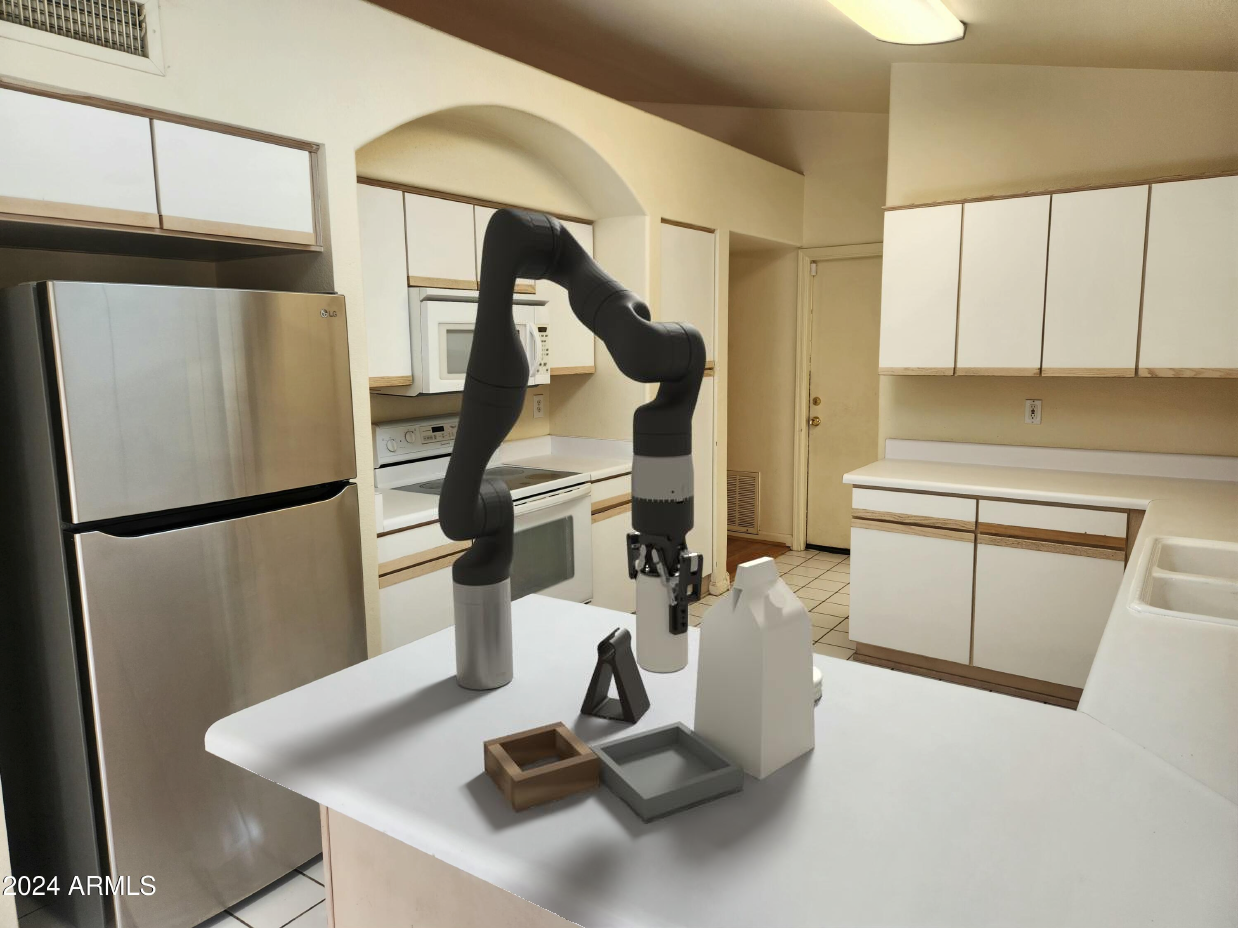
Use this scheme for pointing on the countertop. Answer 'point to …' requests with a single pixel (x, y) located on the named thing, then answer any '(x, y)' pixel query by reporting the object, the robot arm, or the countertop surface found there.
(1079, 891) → the countertop surface
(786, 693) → the milk
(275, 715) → the countertop surface
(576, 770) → the socket block
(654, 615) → the can
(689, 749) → the tray
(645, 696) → the phone stand
